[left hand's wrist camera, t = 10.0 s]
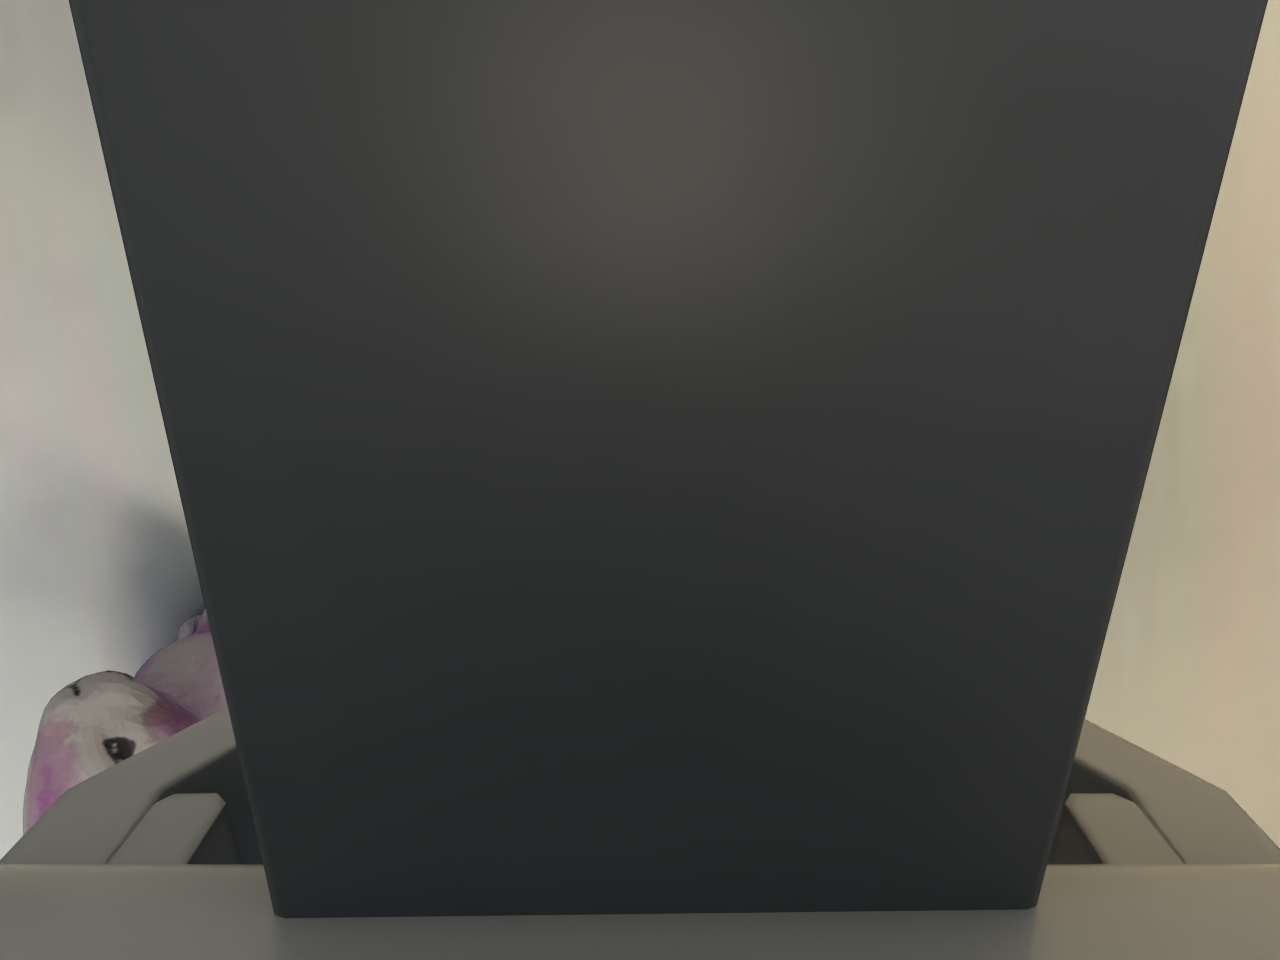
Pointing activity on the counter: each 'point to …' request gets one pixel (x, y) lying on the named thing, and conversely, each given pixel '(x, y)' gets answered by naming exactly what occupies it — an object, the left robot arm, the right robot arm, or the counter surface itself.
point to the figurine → (122, 715)
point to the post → (661, 422)
